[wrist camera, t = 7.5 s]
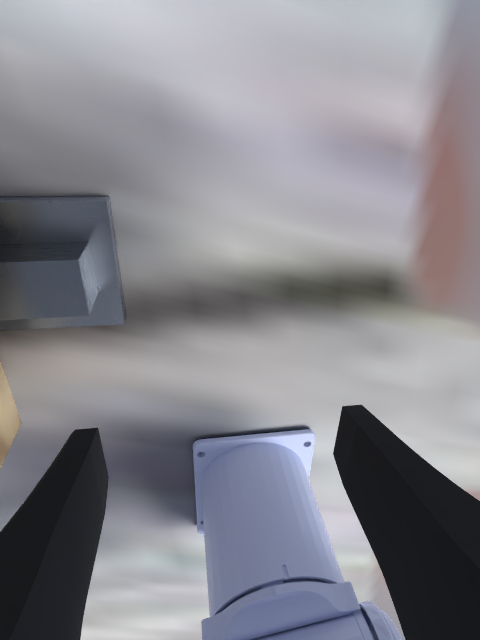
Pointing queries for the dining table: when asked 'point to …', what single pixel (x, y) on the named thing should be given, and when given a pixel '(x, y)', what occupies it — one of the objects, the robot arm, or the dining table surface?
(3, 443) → the bar
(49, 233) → the ridge
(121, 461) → the dining table surface
